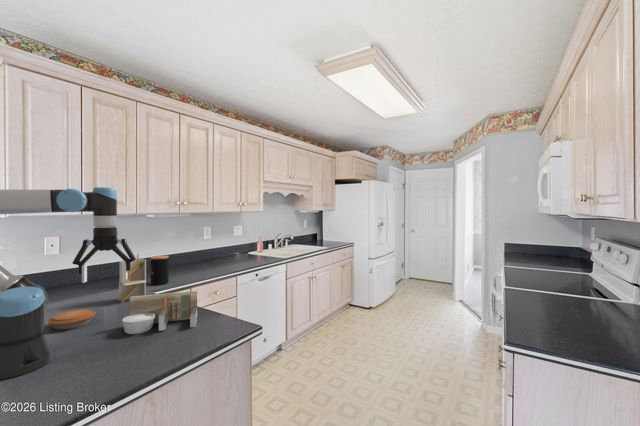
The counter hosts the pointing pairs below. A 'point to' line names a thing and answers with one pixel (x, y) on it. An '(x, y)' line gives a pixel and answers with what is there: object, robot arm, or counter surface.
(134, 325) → the ramekin
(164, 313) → the gauge sled
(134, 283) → the staircase
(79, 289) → the counter surface
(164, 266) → the coffee jar
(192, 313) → the white striped block
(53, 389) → the counter surface
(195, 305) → the scale board
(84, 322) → the pie
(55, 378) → the counter surface
